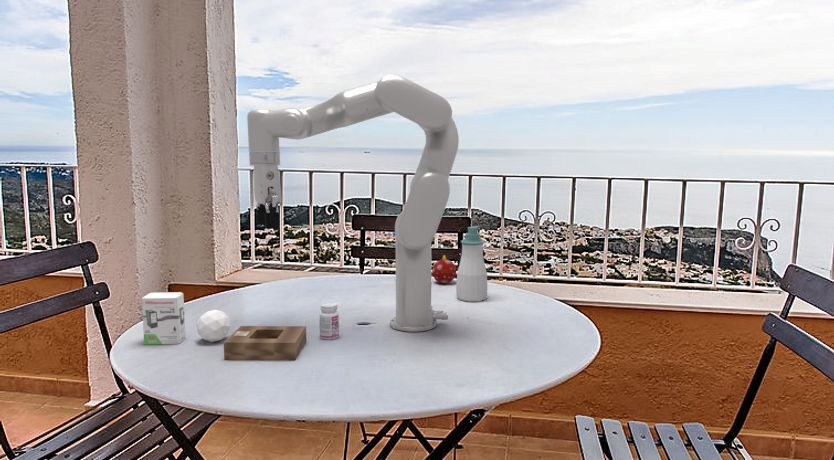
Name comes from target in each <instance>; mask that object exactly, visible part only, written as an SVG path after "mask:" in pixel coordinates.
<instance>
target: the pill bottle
mask: <svg viewBox="0 0 834 460" xmlns="http://www.w3.org/2000/svg"><path fill="white" fill-rule="evenodd" d="M339 316H340V314H339V312H338V303H336V302H324V303H321V305H320V312H319V337H320V338H321V339H323V340H331V341H332V340H335V339H337V338H339V336H340V325H339V324H340V323H339V320H340V319H339V318H340V317H339Z"/></svg>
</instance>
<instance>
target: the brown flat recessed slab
mask: <svg viewBox="0 0 834 460" xmlns="http://www.w3.org/2000/svg"><path fill="white" fill-rule="evenodd" d="M306 344H307V326H305V325H302V326H301V325H299V326H298V325H297V326H295V325H293V326H292V325H290V326H289V325H279V326H278V325H241V326H238V328H237V329H236V330H235V331H234V332H233V333H231V335H230V336H229V337H228V338H226V340H224V341H223V359H224V360H225V361H226V360H230V361H235V360H237V361H241V360H242V361H246V360H247V361H251V360H252V361H296V360H297V358H298V356H299V355H300V353H301V352H302V350H303V349H304V347H305V345H306Z"/></svg>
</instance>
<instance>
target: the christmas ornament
mask: <svg viewBox="0 0 834 460" xmlns="http://www.w3.org/2000/svg"><path fill="white" fill-rule="evenodd" d="M431 275H432V277H433V278H434V280H435V281H437V282H438V283H440V284H448V283H451V282H452V281H453V280H454V279H455V278H456V277H457V266H456V265H455V263H454V262H453V261H451V260H449V259H448V258H447V257H446V255H445V254H444V255H443V256H442V259H439V260H437V261H436V262H435V263H434V265H433V267H432V268H431Z"/></svg>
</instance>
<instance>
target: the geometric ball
mask: <svg viewBox="0 0 834 460" xmlns="http://www.w3.org/2000/svg"><path fill="white" fill-rule="evenodd" d="M196 329H197V334H198V335H200V337H201V338H202V339H203V340H205V341H208V342H210V343H214V342H218V341H221V340H223V339H224V338H225V337H227V336H228V335H229V332H230V330H231V318H230V317H229V316H228V315H227V314H226V313H225V312H224V311H222V310H218V309H212V310H209V311H205V312H204V313H203V314H202V315H200V317H199V319H198V321H197V323H196Z"/></svg>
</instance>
